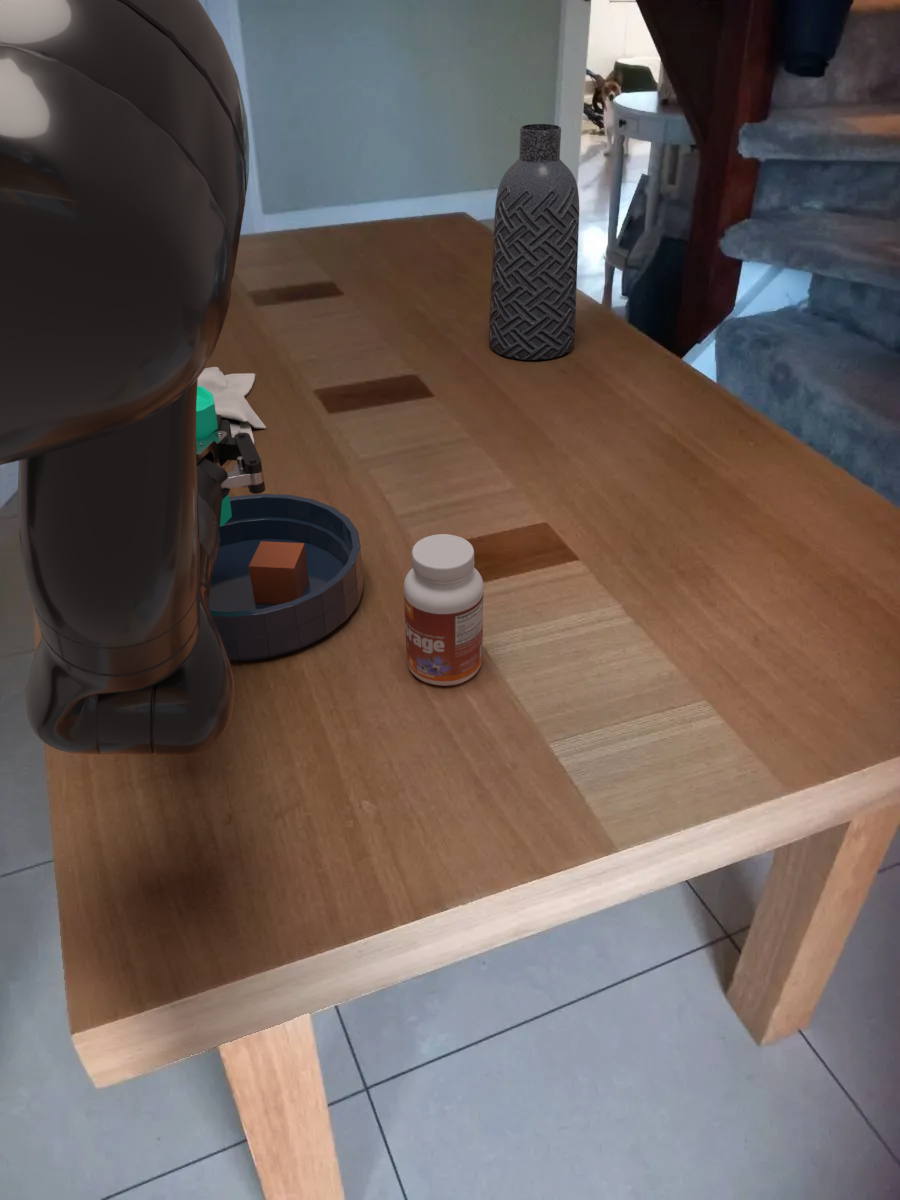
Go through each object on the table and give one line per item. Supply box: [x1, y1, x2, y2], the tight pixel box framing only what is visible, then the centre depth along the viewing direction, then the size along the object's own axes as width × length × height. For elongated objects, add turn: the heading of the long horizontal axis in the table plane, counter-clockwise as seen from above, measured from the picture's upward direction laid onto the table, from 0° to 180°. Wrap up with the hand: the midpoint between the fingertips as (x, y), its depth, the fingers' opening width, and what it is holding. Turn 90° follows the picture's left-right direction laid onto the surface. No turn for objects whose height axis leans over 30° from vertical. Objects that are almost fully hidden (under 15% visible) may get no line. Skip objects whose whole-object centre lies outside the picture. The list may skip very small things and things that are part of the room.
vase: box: [488, 123, 580, 361], centre depth 123 cm, size 12×12×28 cm
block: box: [249, 541, 309, 605], centre depth 81 cm, size 4×4×4 cm
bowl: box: [209, 493, 365, 662], centre depth 82 cm, size 19×19×5 cm
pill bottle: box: [403, 533, 485, 687], centre depth 72 cm, size 6×6×11 cm
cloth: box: [197, 366, 267, 444], centre depth 115 cm, size 26×14×2 cm, turn 13°
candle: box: [196, 386, 232, 526], centre depth 75 cm, size 6×6×12 cm
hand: (181, 428), depth 76 cm, fingers closed on candle, 5 cm apart
